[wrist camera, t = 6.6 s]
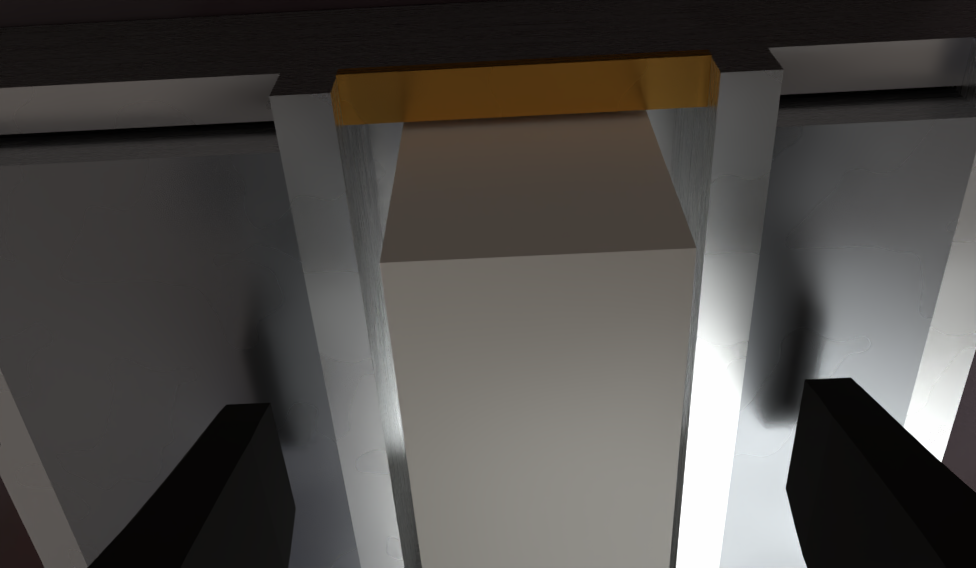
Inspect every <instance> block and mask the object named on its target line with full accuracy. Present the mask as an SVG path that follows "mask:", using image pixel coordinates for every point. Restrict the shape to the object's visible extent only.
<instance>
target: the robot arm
mask: <svg viewBox="0 0 976 568" xmlns="http://www.w3.org/2000/svg"><path fill="white" fill-rule="evenodd" d="M786 492H787V496H788V500H789V504H790V509H791V513H792V517H793V521H794V525H795V529H796V533H797V536H798V540H799V544H800V547H801V551H802V555H803V558H804V561H805V564H806V566H807V568H976V493H975V492H974V491H973V490H972V489H971V488H970V487H969V486H967V485H966V484H965V483H964V482H963V481H962V480H961V479H959V478H958V477H957V476H956V475H955V474H954V473H953V472H952V471H950V470H949V469H948V468H947V467H946V466H945V465H944V464H943V463H941V462H940V461H939V460H938V459H937V458H936V457H935V456H934V455H933V454H932V453H931V452H929V451H928V450H927V449H926V448H925V447H924V446H923V445H922V444H921V443H920V442H919V441H918V440H917V439H916V438H914V437H913V436H912V435H911V434H910V433H909V432H908V431H907V430H906V429H905V428H904V427H903V426H902V425H901V424H900V423H899V422H898V421H896V420H895V419H894V418H893V417H892V416H891V415H890V414H889V413H888V412H887V411H886V410H885V409H884V408H883V407H882V406H881V405H880V404H879V403H878V402H876V401H875V400H874V399H873V398H872V397H871V396H870V395H869V394H868V393H867V392H866V391H865V390H864V389H863V388H862V387H861V386H860V385H859V384H858V383H856V382H855V381H854V380H853V379H852V378H851V377H849V378H826V379H805V381H804V387H803V393H802V398H801V404H800V410H799V415H798V421H797V426H796V432H795V438H794V443H793V449H792V455H791V460H790V466H789V472H788V477H787V483H786ZM295 512H296V506H295V502H294V498H293V494H292V490H291V486H290V481H289V477H288V473H287V469H286V465H285V461H284V456H283V452H282V448H281V444H280V440H279V436H278V432H277V427H276V423H275V419H274V415H273V411H272V407H271V403H250V404H227V405H225V406H224V407H223V408H222V410H221V411H220V412H219V413H218V414H217V415H216V417H215V418H214V419H213V420H212V422H211V423H210V424H209V425H208V427H207V428H206V429H205V430H204V432H203V433H202V434H201V435H200V437H199V438H198V439H197V441H196V442H195V443H194V444H193V446H192V447H191V448H190V449H189V451H188V452H187V453H186V454H185V456H184V457H183V458H182V459H181V461H180V462H179V463H178V464H177V466H176V467H175V468H174V469H173V471H172V472H171V473H170V474H169V476H168V477H167V478H166V479H165V480H164V482H163V483H162V484H161V485H160V486H159V488H158V489H157V490H156V491H155V492H154V493H153V495H152V496H151V497H150V498H149V499H148V501H147V502H146V503H145V504H144V505H143V506H142V508H141V509H140V510H139V511H138V512H137V514H136V515H135V516H134V517H133V518H132V519H131V521H130V522H129V523H128V524H127V525H126V526H125V527H124V529H123V530H122V531H121V532H120V533H119V534H118V535H117V536H116V537H115V538H114V539H113V540H112V542H111V543H110V544H109V545H108V546H107V547H106V548H105V549H104V550H103V551H102V552H101V553H100V554H99V556H98V557H97V558H96V559H95V560H94V561H93V562H92V563H91V564H90V565H89V566H88V567H87V568H288V567H289V559H290V552H291V545H292V537H293V528H294V520H295Z"/></svg>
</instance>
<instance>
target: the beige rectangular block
mask: <svg viewBox="0 0 976 568" xmlns="http://www.w3.org/2000/svg"><path fill="white" fill-rule="evenodd" d="M695 259H696V246H695V243H694V240H693V237H692V235H691V232H690V229H689V226H688V224H687V221H686V218H685V215H684V213H683V210H682V207H681V204H680V202H679V199H678V196H677V194H676V191H675V188H674V185H673V183H672V180H671V177H670V174H669V172H668V169H667V166H666V163H665V161H664V158H663V155H662V152H661V150H660V147H659V144H658V141H657V139H656V136H655V133H654V131H653V128H652V125H651V122H650V120H649V117H648V114H647V111H646V110H634V111H615V112H595V113H576V114H556V115H536V116H517V117H497V118H477V119H458V120H438V121H419V122H404V124H403V130H402V135H401V141H400V147H399V153H398V159H397V164H396V170H395V176H394V182H393V188H392V193H391V199H390V205H389V211H388V217H387V222H386V228H385V234H384V240H383V246H382V251H381V257H380V270H381V277H382V284H383V292H384V299H385V306H386V313H387V320H388V327H389V335H390V342H391V349H392V356H393V363H394V371H395V378H396V385H397V392H398V399H399V406H400V414H401V421H402V428H403V435H404V442H405V450H406V457H407V464H408V471H409V478H410V485H411V493H412V500H413V507H414V514H415V521H416V529H417V536H418V543H419V550H420V557H421V564H422V568H669V565H670V553H671V541H672V529H673V518H674V506H675V494H676V482H677V470H678V459H679V447H680V435H681V423H682V412H683V400H684V388H685V376H686V365H687V353H688V341H689V329H690V318H691V306H692V294H693V282H694V271H695Z"/></svg>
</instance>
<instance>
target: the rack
mask: <svg viewBox="0 0 976 568" xmlns="http://www.w3.org/2000/svg"><path fill="white" fill-rule="evenodd" d="M634 110H646V111H647V114H648V117H649V120H650V122H651V125H652V128H653V131H654V133H655V136H656V139H657V141H658V144H659V147H660V150H661V152H662V155H663V158H664V161H665V163H666V166H667V169H668V172H669V174H670V177H671V180H672V183H673V185H674V188H675V191H676V194H677V196H678V199H679V202H680V204H681V207H682V210H683V213H684V215H685V218H686V221H687V224H688V226H689V229H690V232H691V235H692V237H693V240H694V243H695V246H696V259H695V271H694V282H693V294H692V306H691V318H690V329H689V341H688V353H687V365H686V376H685V388H684V400H683V412H682V423H681V435H680V447H679V459H678V470H677V482H676V494H675V506H674V518H673V529H672V541H671V553H670V565H669V568H807V566H806V564H805V561H804V558H803V555H802V551H801V547H800V544H799V540H798V536H797V533H796V529H795V525H794V521H793V517H792V513H791V509H790V504H789V500H788V496H787V492H786V483H787V477H788V472H789V466H790V460H791V455H792V449H793V443H794V438H795V432H796V426H797V421H798V415H799V410H800V404H801V398H802V393H803V387H804V381H805V379H826V378H849V377H851V378H852V379H853V380H854V381H855V382H856V383H858V384H859V385H860V386H861V387H862V388H863V389H864V390H865V391H866V392H867V393H868V394H869V395H870V396H871V397H872V398H873V399H874V400H875V401H876V402H878V403H879V404H880V405H881V406H882V407H883V408H884V409H885V410H886V411H887V412H888V413H889V414H890V415H891V416H892V417H893V418H894V419H895V420H896V421H898V422H899V423H900V424H901V425H902V426H903V427H904V428H905V429H906V430H907V431H908V432H909V433H910V434H911V435H912V436H913V437H914V438H916V439H917V440H918V441H919V442H920V443H921V444H922V445H923V446H924V447H925V448H926V449H927V450H928V451H929V452H931V453H932V454H933V455H934V456H935V457H936V458H937V459H938V460H939V461H940V462H942V459H943V455H944V452H945V449H946V446H947V442H948V439H949V436H950V432H951V429H952V426H953V422H954V419H955V416H956V412H957V409H958V406H959V403H960V399H961V396H962V393H963V389H964V386H965V383H966V379H967V376H968V373H969V370H970V366H971V363H972V360H973V356H974V353H975V350H976V0H506V1H487V2H469V3H450V4H432V5H413V6H395V7H376V8H358V9H339V10H321V11H302V12H284V13H266V14H247V15H229V16H210V17H192V18H173V19H155V20H136V21H118V22H99V23H81V24H62V25H44V26H25V27H7V28H0V476H1V478H2V480H3V482H4V484H5V486H6V489H7V491H8V493H9V495H10V497H11V499H12V501H13V503H14V505H15V507H16V509H17V511H18V513H19V516H20V518H21V520H22V522H23V524H24V526H25V528H26V530H27V532H28V534H29V536H30V538H31V540H32V542H33V545H34V547H35V549H36V551H37V553H38V555H39V557H40V559H41V561H42V563H43V565H44V567H45V568H87V567H88V566H89V565H90V564H91V563H92V562H93V561H94V560H95V559H96V558H97V557H98V556H99V554H100V553H101V552H102V551H103V550H104V549H105V548H106V547H107V546H108V545H109V544H110V543H111V542H112V540H113V539H114V538H115V537H116V536H117V535H118V534H119V533H120V532H121V531H122V530H123V529H124V527H125V526H126V525H127V524H128V523H129V522H130V521H131V519H132V518H133V517H134V516H135V515H136V514H137V512H138V511H139V510H140V509H141V508H142V506H143V505H144V504H145V503H146V502H147V501H148V499H149V498H150V497H151V496H152V495H153V493H154V492H155V491H156V490H157V489H158V488H159V486H160V485H161V484H162V483H163V482H164V480H165V479H166V478H167V477H168V476H169V474H170V473H171V472H172V471H173V469H174V468H175V467H176V466H177V464H178V463H179V462H180V461H181V459H182V458H183V457H184V456H185V454H186V453H187V452H188V451H189V449H190V448H191V447H192V446H193V444H194V443H195V442H196V441H197V439H198V438H199V437H200V435H201V434H202V433H203V432H204V430H205V429H206V428H207V427H208V425H209V424H210V423H211V422H212V420H213V419H214V418H215V417H216V415H217V414H218V413H219V412H220V411H221V410H222V408H223V407H224V406H225V405H227V404H250V403H271V407H272V411H273V415H274V419H275V423H276V427H277V432H278V436H279V440H280V444H281V448H282V452H283V456H284V461H285V465H286V469H287V473H288V477H289V481H290V486H291V490H292V494H293V498H294V502H295V506H296V512H295V520H294V528H293V537H292V545H291V552H290V559H289V567H288V568H422V564H421V557H420V550H419V543H418V536H417V529H416V521H415V514H414V507H413V500H412V493H411V485H410V478H409V471H408V464H407V457H406V450H405V442H404V435H403V428H402V421H401V414H400V406H399V399H398V392H397V385H396V378H395V371H394V363H393V356H392V349H391V342H390V335H389V327H388V320H387V313H386V306H385V299H384V292H383V284H382V277H381V270H380V257H381V251H382V246H383V240H384V234H385V228H386V222H387V217H388V211H389V205H390V199H391V193H392V188H393V182H394V176H395V170H396V164H397V159H398V153H399V147H400V141H401V135H402V130H403V124H404V122H419V121H438V120H458V119H477V118H497V117H517V116H536V115H556V114H576V113H595V112H615V111H634Z"/></svg>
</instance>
